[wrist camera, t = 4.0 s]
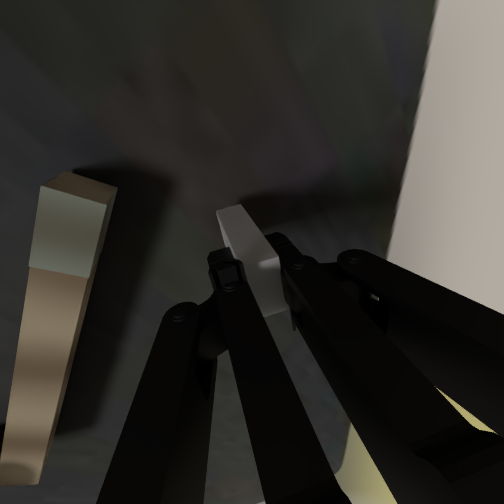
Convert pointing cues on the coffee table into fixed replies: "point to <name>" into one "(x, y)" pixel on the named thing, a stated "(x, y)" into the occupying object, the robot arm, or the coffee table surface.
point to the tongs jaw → (52, 317)
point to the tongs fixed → (1, 439)
